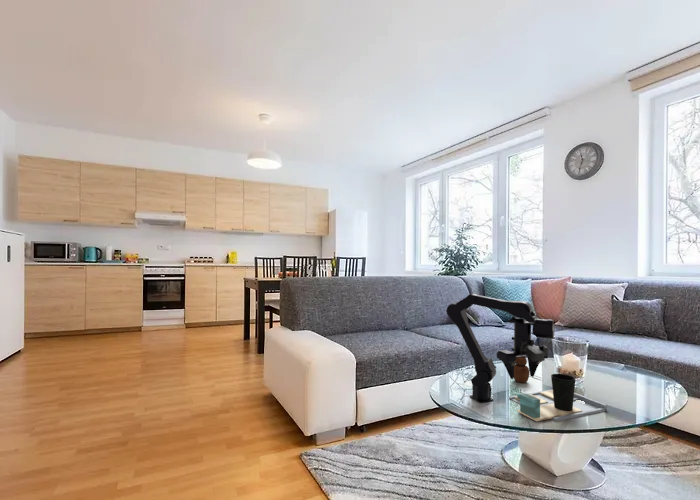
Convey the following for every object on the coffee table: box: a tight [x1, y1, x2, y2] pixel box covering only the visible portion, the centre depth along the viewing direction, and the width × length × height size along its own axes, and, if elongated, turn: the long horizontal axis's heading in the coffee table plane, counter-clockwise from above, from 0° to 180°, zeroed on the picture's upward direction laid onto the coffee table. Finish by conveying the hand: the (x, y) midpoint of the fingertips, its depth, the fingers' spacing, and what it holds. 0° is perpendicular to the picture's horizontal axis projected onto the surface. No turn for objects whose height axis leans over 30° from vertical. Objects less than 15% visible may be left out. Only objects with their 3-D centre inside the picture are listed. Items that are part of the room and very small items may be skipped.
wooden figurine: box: [513, 354, 530, 384], centre depth 165 cm, size 7×6×15 cm
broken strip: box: [515, 389, 554, 405], centre depth 144 cm, size 22×8×2 cm, turn 110°
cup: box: [550, 373, 576, 411], centre depth 134 cm, size 8×8×12 cm
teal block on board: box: [517, 392, 582, 422], centre depth 132 cm, size 22×8×7 cm, turn 110°
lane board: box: [508, 388, 608, 422], centre depth 140 cm, size 25×21×2 cm
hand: (522, 377), depth 137 cm, fingers open, 9 cm apart
